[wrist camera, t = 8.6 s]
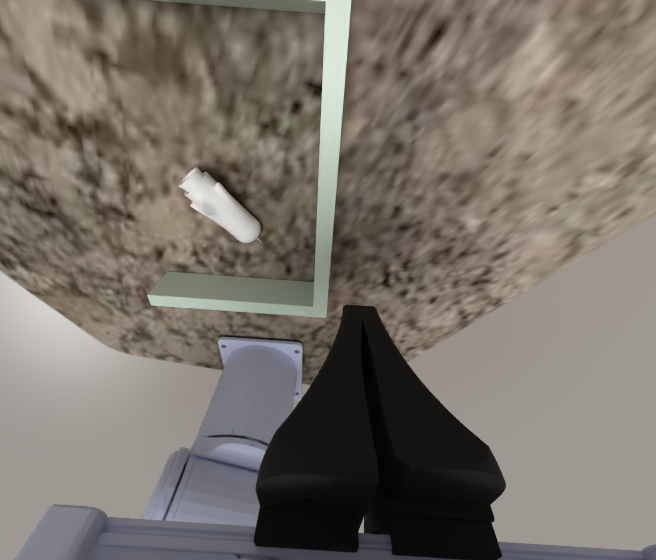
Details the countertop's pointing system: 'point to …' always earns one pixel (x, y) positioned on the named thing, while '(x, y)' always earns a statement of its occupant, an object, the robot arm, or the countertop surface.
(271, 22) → the countertop surface
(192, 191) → the small white plastic part
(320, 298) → the light green u-shaped bracket
